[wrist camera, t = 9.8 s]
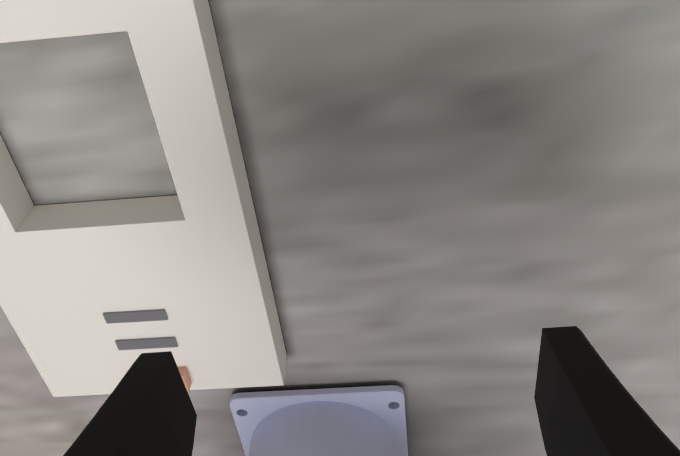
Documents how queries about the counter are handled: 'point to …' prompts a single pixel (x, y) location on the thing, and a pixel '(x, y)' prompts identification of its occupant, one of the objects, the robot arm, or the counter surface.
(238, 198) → the power strip
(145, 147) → the counter surface
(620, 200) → the counter surface
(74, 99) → the counter surface
